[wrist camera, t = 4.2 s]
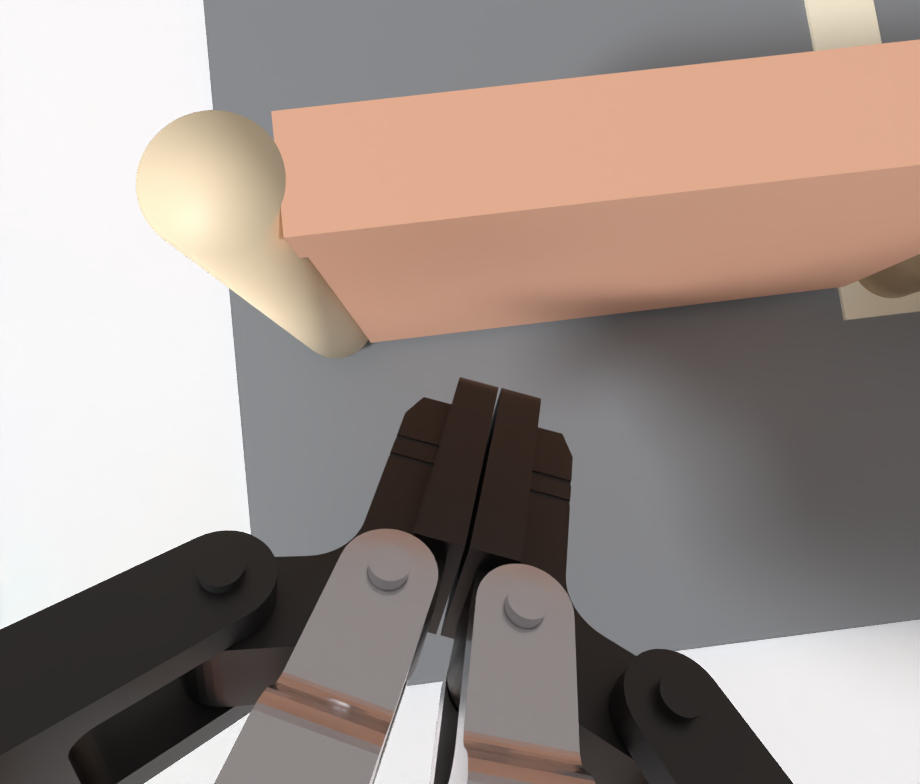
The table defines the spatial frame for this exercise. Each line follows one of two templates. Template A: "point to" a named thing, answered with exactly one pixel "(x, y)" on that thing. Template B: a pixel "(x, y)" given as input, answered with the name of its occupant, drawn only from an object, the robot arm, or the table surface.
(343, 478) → the card
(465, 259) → the swing fence panel
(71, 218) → the table surface
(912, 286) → the fence post section
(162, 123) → the table surface
